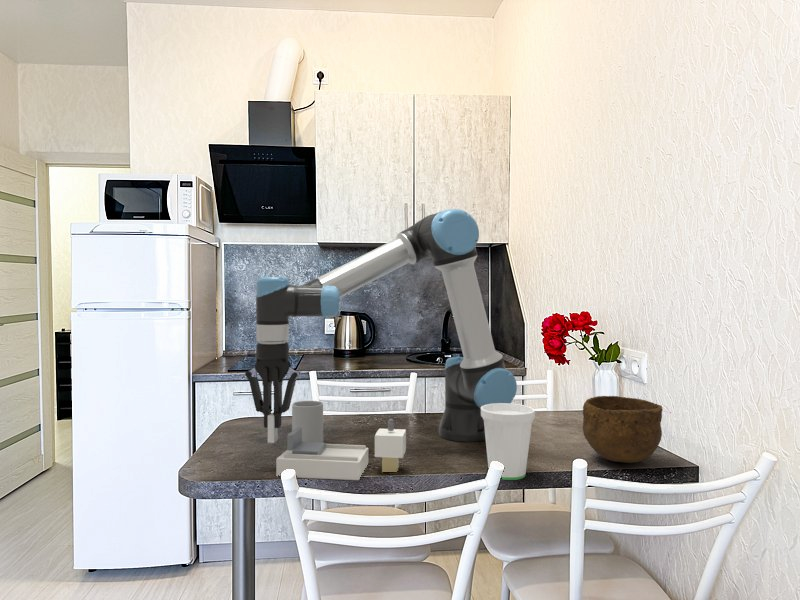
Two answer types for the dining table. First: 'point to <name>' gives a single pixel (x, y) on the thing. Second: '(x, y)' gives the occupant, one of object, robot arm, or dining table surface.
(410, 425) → the dining table surface
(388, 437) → the plug
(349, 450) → the cream railed base block
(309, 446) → the grey l-shaped bracket
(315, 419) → the mug
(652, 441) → the bowl
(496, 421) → the cup
